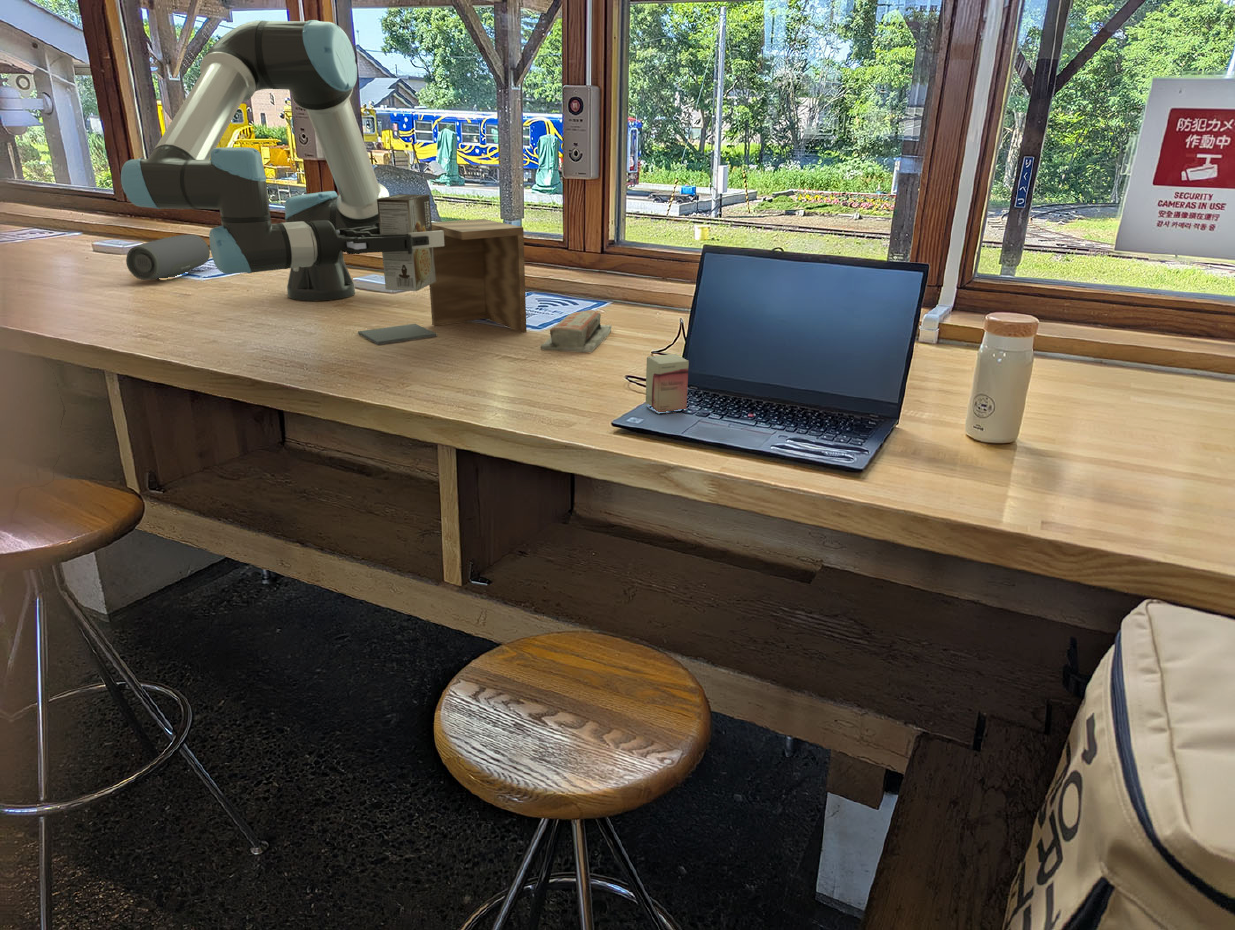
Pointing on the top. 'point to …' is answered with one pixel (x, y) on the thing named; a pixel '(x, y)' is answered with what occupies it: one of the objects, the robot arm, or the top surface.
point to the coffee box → (402, 219)
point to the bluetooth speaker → (167, 257)
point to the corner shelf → (479, 274)
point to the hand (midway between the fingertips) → (430, 234)
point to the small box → (667, 382)
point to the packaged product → (577, 333)
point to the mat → (396, 334)
